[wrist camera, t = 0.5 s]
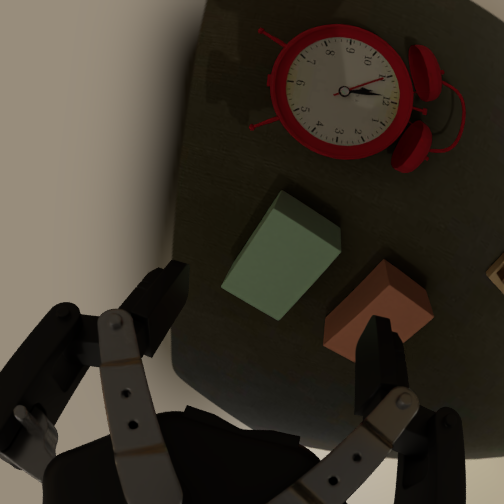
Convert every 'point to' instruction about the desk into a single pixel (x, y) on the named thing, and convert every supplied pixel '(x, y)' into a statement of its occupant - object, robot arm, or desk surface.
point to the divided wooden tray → (497, 273)
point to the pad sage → (283, 256)
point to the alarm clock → (354, 94)
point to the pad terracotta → (377, 309)
